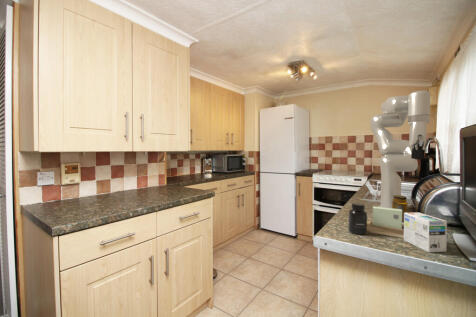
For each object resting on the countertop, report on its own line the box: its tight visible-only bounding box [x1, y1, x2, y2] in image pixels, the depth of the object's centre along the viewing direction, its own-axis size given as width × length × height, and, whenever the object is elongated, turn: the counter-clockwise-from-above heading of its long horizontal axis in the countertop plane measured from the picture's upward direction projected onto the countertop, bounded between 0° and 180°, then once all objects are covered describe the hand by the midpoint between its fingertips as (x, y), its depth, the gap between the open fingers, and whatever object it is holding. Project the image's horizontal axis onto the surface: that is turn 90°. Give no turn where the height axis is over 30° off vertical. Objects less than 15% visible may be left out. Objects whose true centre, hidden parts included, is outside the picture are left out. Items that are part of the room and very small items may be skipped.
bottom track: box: [367, 219, 404, 239], centre depth 92 cm, size 7×14×3 cm, turn 58°
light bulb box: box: [403, 212, 448, 253], centre depth 79 cm, size 11×7×11 cm, turn 5°
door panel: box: [372, 206, 403, 229], centre depth 92 cm, size 3×10×9 cm, turn 58°
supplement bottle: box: [347, 202, 368, 236], centre depth 92 cm, size 7×7×12 cm
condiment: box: [392, 195, 408, 225], centre depth 107 cm, size 7×8×12 cm
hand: (417, 159), depth 98 cm, fingers open, 9 cm apart
